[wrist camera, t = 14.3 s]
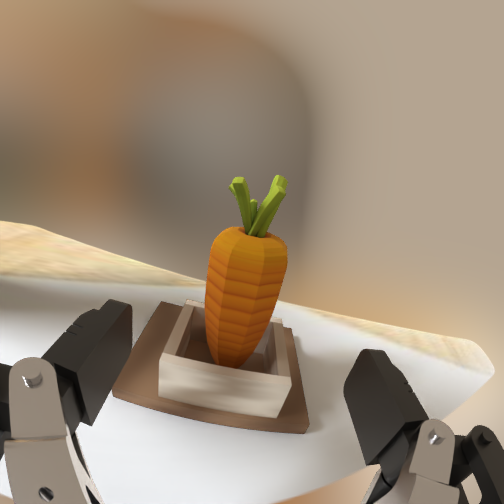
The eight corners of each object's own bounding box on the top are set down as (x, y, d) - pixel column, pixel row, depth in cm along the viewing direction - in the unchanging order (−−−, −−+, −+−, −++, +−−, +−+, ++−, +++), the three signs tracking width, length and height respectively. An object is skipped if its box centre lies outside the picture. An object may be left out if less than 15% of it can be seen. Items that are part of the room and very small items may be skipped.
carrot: (197, 396, 17) (235, 168, 13) (190, 352, 22) (218, 163, 17) (264, 393, 19) (325, 187, 14) (247, 353, 23) (289, 176, 19)
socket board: (112, 396, 16) (106, 348, 15) (160, 310, 29) (164, 271, 27) (303, 433, 17) (328, 392, 16) (288, 337, 29) (300, 300, 28)
